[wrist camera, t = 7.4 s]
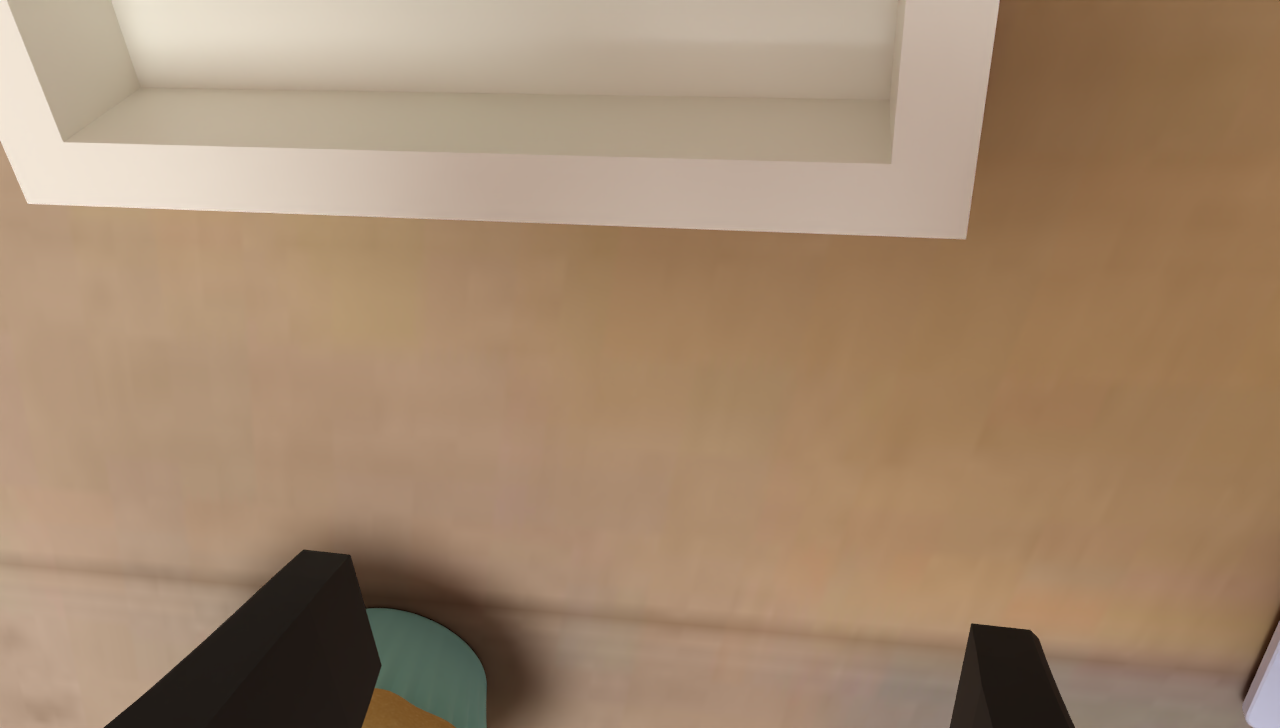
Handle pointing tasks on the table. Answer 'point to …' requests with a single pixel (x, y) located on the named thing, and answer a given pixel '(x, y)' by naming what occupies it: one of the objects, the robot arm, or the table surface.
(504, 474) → the table surface
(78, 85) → the cream bin
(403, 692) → the cupcake
